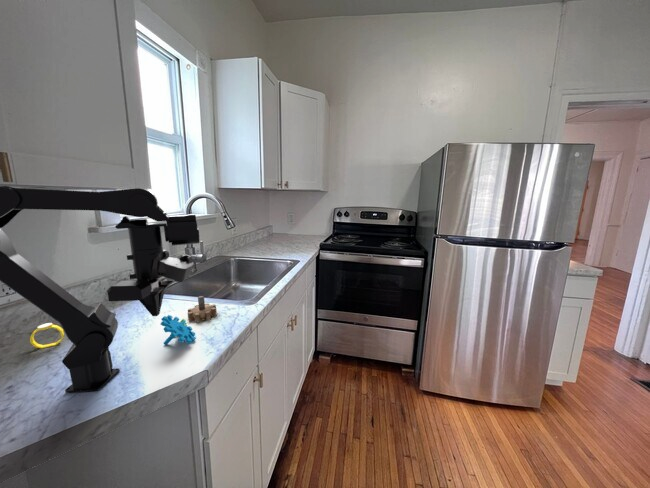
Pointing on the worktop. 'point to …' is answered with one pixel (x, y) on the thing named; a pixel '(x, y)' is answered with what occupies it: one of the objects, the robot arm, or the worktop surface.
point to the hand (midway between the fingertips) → (156, 315)
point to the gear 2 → (202, 311)
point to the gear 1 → (177, 329)
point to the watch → (43, 327)
